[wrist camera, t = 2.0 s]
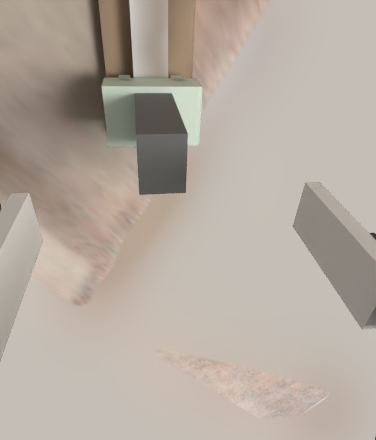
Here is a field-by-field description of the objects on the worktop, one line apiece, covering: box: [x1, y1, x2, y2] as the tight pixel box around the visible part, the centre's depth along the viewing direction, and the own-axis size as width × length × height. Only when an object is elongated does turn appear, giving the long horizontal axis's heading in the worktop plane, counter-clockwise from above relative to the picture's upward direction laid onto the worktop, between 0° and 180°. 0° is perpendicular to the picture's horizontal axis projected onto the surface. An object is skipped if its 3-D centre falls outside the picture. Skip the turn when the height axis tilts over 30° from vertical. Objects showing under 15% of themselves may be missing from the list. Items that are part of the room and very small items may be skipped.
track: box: [98, 0, 195, 78], centre depth 26 cm, size 8×22×4 cm, turn 178°
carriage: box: [101, 75, 202, 195], centre depth 25 cm, size 8×5×13 cm, turn 88°
